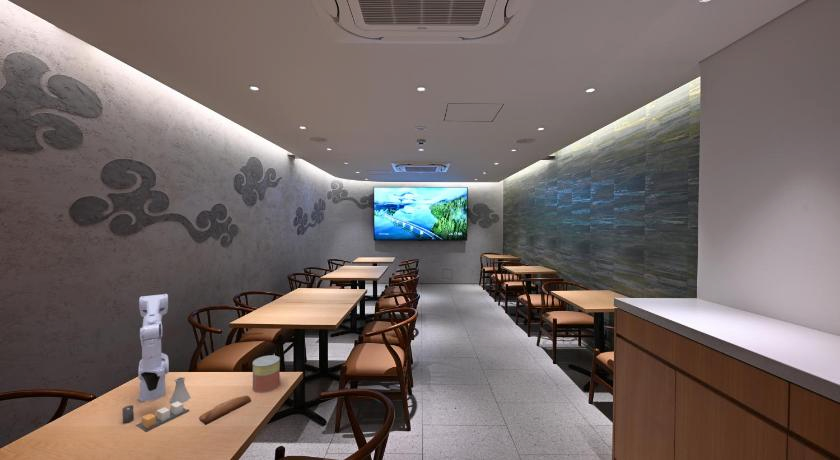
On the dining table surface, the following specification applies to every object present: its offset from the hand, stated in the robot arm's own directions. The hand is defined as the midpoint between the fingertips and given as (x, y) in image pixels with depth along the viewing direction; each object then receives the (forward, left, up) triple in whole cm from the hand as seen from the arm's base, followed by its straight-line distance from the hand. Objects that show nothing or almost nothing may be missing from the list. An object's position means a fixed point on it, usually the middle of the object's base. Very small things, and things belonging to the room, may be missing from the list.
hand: (152, 389), depth 124 cm
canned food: (+20, +35, -10) cm, 42 cm away
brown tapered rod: (+22, +14, -11) cm, 28 cm away
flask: (0, +10, -10) cm, 14 cm away
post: (-2, -7, -10) cm, 12 cm away
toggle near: (+8, +4, -9) cm, 13 cm away
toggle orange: (+8, -4, -9) cm, 13 cm away
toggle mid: (+8, 0, -9) cm, 12 cm away
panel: (+8, 0, -10) cm, 13 cm away
